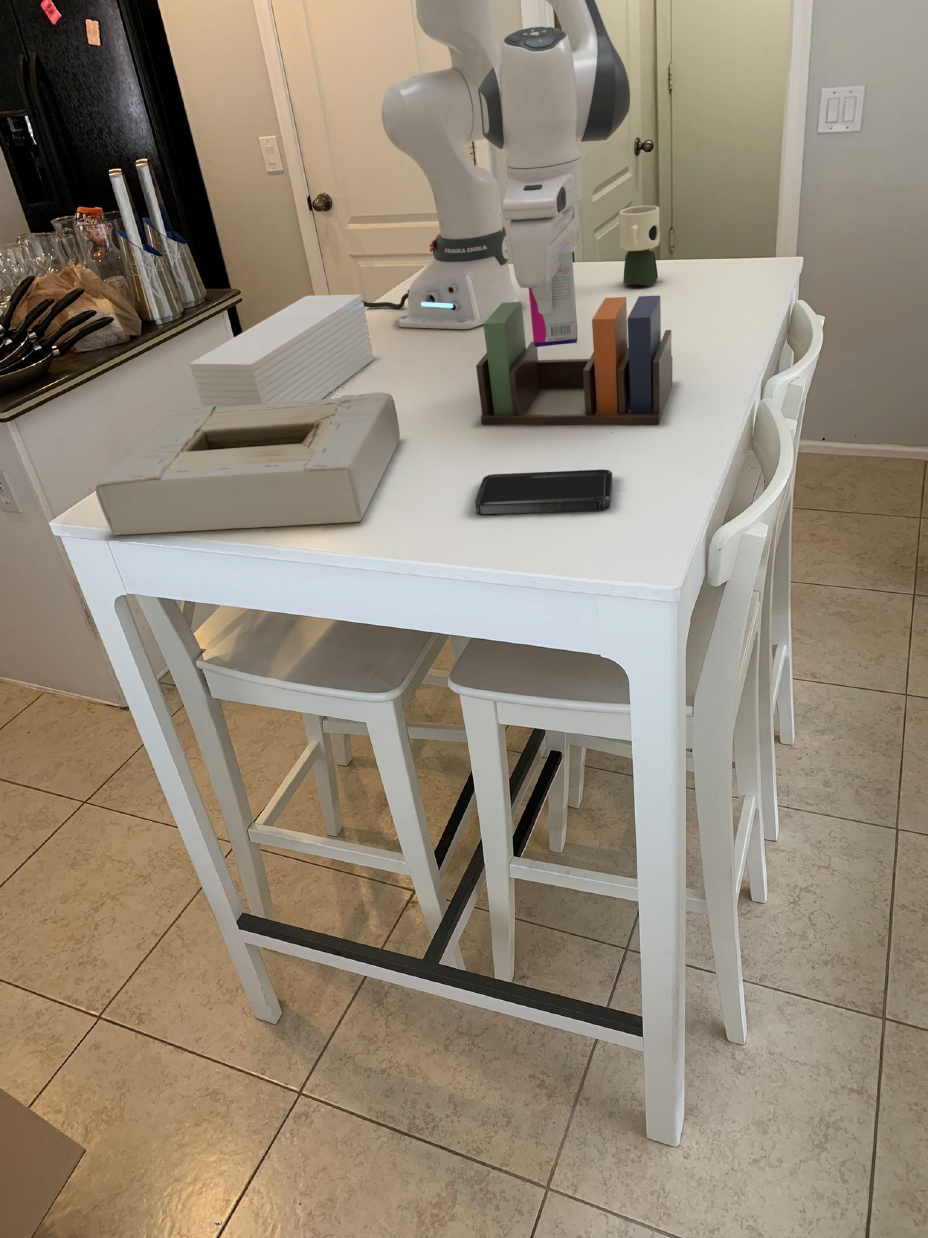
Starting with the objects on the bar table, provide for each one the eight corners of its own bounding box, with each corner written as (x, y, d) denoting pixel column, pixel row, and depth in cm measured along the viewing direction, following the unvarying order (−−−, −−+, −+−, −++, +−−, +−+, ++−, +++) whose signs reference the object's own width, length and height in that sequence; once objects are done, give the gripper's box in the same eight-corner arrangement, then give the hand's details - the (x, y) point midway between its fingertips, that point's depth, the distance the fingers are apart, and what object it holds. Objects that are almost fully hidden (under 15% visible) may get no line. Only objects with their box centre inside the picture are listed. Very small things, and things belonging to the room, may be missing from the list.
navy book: (630, 417, 118) (627, 317, 111) (640, 391, 125) (638, 296, 118) (652, 417, 118) (650, 316, 110) (661, 391, 124) (660, 295, 117)
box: (402, 440, 123) (182, 455, 128) (393, 385, 118) (165, 403, 124) (367, 526, 104) (111, 539, 109) (354, 465, 100) (88, 482, 105)
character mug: (653, 292, 163) (652, 215, 156) (615, 293, 166) (612, 217, 159) (665, 275, 172) (665, 201, 164) (628, 276, 174) (626, 203, 167)
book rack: (481, 425, 123) (474, 367, 119) (508, 387, 134) (502, 333, 129) (659, 424, 115) (658, 363, 111) (672, 384, 126) (672, 327, 121)
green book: (494, 418, 124) (483, 323, 117) (511, 393, 131) (501, 302, 124) (514, 418, 123) (503, 322, 116) (530, 393, 130) (521, 301, 123)
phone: (609, 500, 98) (473, 505, 101) (609, 510, 98) (474, 514, 102) (612, 468, 104) (484, 473, 107) (613, 477, 105) (485, 482, 108)
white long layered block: (320, 358, 157) (306, 295, 151) (374, 359, 153) (361, 294, 147) (211, 434, 134) (189, 363, 128) (270, 437, 129) (251, 364, 123)
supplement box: (577, 328, 122) (572, 239, 116) (577, 343, 117) (572, 251, 111) (534, 333, 123) (527, 244, 117) (533, 347, 118) (525, 256, 112)
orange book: (597, 417, 120) (591, 319, 113) (609, 392, 127) (605, 297, 119) (618, 417, 119) (614, 318, 112) (629, 391, 126) (626, 296, 119)
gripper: (540, 171, 119) (548, 280, 126) (497, 208, 103) (509, 329, 111) (588, 167, 117) (592, 278, 124) (551, 204, 101) (559, 327, 109)
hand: (553, 302), depth 118 cm, fingers closed on supplement box, 6 cm apart
